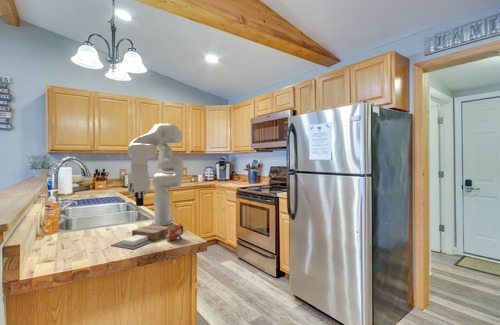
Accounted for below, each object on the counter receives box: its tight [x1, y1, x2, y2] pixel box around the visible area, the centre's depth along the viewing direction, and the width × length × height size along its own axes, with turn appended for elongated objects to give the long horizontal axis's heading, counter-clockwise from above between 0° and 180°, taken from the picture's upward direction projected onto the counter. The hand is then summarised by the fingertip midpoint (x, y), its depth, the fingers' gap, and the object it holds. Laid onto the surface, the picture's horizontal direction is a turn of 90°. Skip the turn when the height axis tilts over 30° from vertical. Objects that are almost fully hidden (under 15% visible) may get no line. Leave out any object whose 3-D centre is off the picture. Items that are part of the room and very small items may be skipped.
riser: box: [131, 224, 172, 243], centre depth 134 cm, size 13×14×4 cm
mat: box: [110, 240, 153, 251], centre depth 122 cm, size 12×14×1 cm
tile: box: [121, 235, 148, 246], centre depth 123 cm, size 9×7×2 cm
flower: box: [164, 222, 185, 241], centre depth 128 cm, size 10×9×8 cm
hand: (139, 205), depth 127 cm, fingers closed
